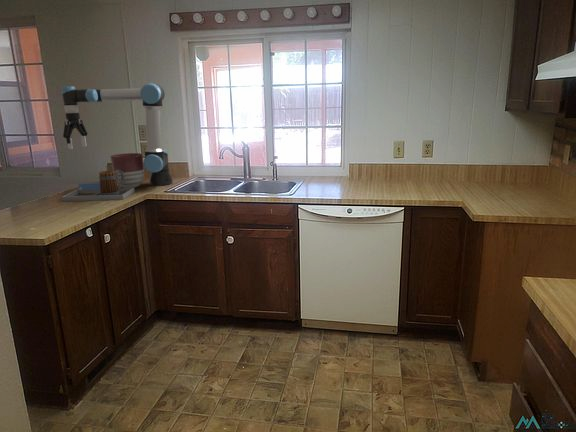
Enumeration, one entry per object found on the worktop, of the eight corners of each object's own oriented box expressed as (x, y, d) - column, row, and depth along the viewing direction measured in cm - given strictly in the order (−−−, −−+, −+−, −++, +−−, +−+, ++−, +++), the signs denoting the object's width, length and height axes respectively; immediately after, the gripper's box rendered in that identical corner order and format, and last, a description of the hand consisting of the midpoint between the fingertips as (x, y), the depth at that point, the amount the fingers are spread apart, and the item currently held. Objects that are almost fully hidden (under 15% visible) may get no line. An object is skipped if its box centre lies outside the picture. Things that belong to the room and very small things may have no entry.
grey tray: (135, 191, 267) (133, 182, 265) (123, 199, 246) (122, 189, 244) (78, 193, 266) (77, 183, 264) (62, 201, 245) (60, 190, 243)
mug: (106, 199, 247) (103, 173, 243) (97, 197, 253) (93, 172, 249) (130, 194, 259) (127, 170, 255) (120, 192, 265) (117, 168, 261)
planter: (134, 191, 266) (130, 157, 261) (108, 190, 272) (103, 156, 266) (152, 185, 284) (148, 153, 279) (127, 184, 290) (123, 153, 284)
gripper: (79, 112, 273) (84, 145, 279) (52, 113, 249) (58, 150, 255) (90, 111, 272) (95, 145, 277) (64, 113, 248) (70, 149, 254)
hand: (77, 147), depth 266 cm, fingers open, 13 cm apart
